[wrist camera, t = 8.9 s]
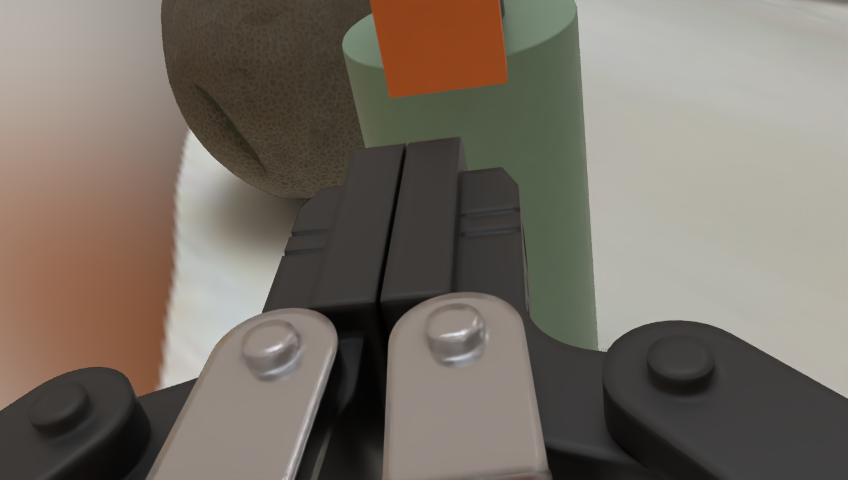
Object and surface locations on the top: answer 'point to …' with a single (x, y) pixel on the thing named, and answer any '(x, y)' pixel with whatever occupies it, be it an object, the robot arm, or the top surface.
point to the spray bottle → (511, 146)
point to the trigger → (440, 44)
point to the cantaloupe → (267, 87)
